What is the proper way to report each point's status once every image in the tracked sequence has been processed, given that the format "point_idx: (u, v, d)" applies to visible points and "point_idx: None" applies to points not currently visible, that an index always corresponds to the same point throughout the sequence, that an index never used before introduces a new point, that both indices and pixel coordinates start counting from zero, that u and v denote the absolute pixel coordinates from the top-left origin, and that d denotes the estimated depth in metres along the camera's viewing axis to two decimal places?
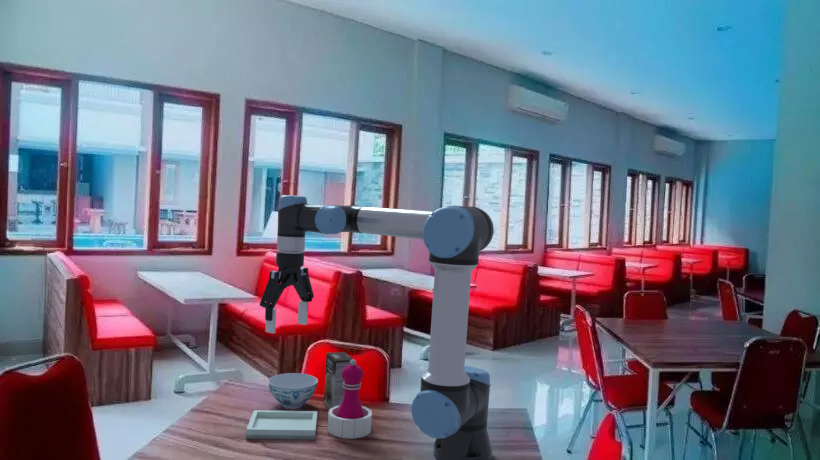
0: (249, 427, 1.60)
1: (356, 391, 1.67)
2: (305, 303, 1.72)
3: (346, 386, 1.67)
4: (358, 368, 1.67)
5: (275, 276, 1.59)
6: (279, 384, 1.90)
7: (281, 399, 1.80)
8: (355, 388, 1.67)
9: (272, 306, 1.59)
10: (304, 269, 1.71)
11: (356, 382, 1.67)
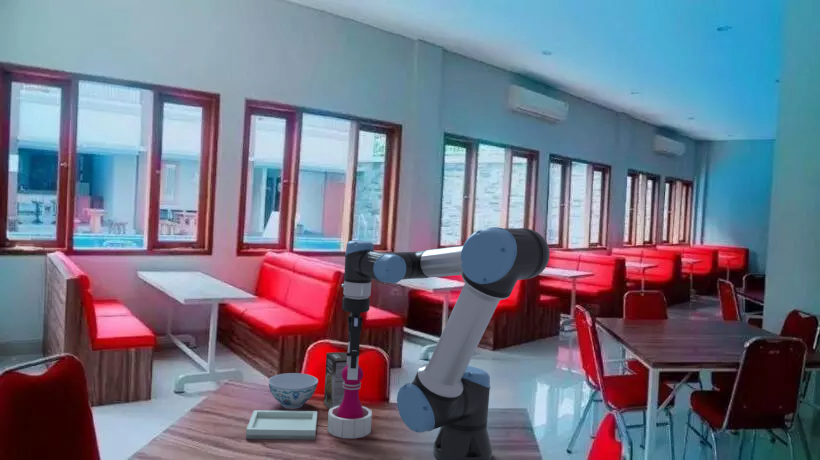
0: (249, 427, 1.60)
1: (356, 391, 1.67)
2: None
3: (346, 386, 1.67)
4: (358, 368, 1.67)
5: (359, 324, 1.61)
6: (279, 384, 1.90)
7: (281, 399, 1.80)
8: (355, 388, 1.67)
9: None
10: None
11: (356, 382, 1.67)
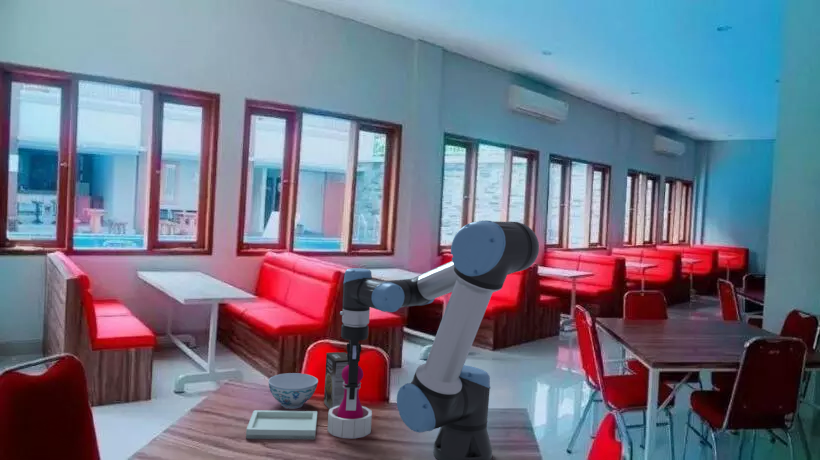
0: (249, 427, 1.60)
1: None
2: None
3: None
4: (358, 368, 1.67)
5: (357, 357, 1.62)
6: (279, 384, 1.90)
7: (281, 399, 1.80)
8: None
9: None
10: None
11: None
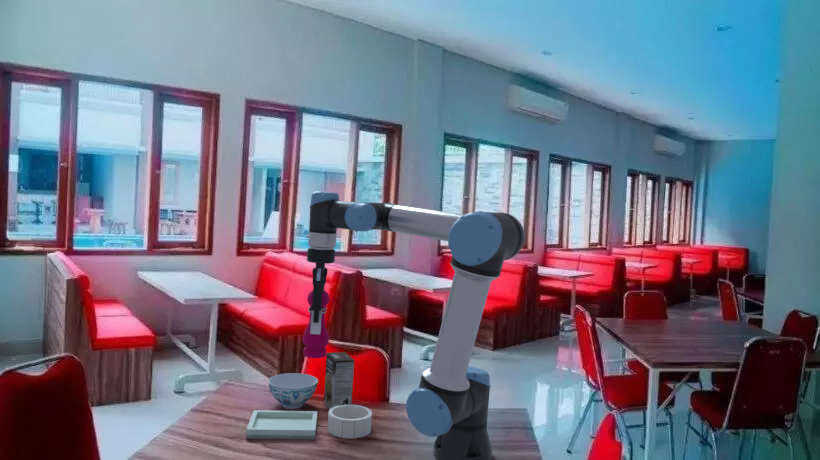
0: (249, 427, 1.60)
1: None
2: None
3: (311, 310, 1.65)
4: (324, 292, 1.65)
5: (321, 279, 1.60)
6: (279, 384, 1.90)
7: (281, 399, 1.80)
8: None
9: (321, 308, 1.62)
10: None
11: None
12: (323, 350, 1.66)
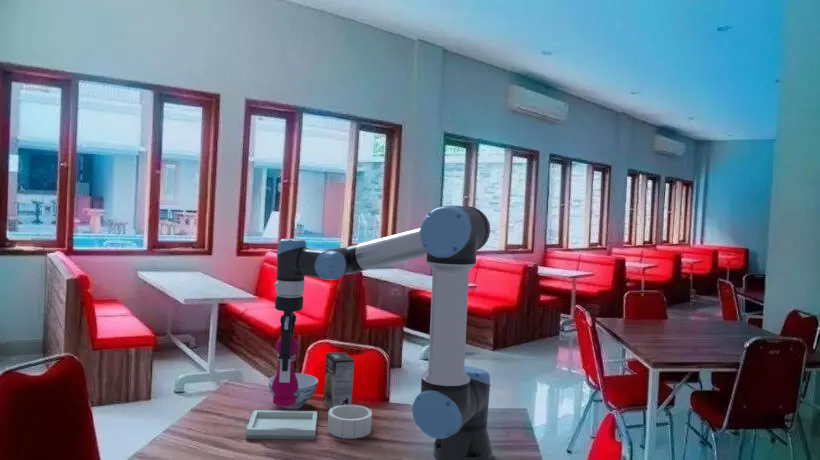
0: (249, 427, 1.60)
1: None
2: None
3: None
4: (292, 340, 1.65)
5: (289, 328, 1.59)
6: None
7: None
8: None
9: (290, 357, 1.62)
10: None
11: (290, 354, 1.64)
12: (293, 397, 1.66)
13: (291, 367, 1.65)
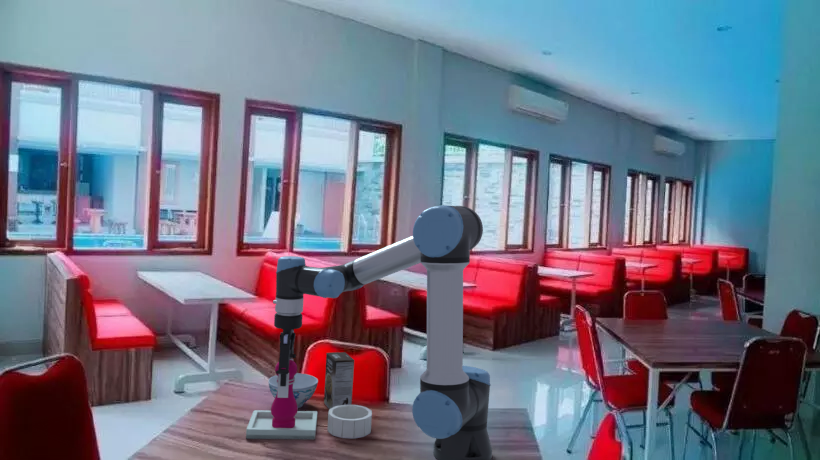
0: (249, 427, 1.60)
1: (289, 386, 1.65)
2: None
3: None
4: (291, 363, 1.65)
5: (288, 341, 1.59)
6: None
7: None
8: None
9: (288, 371, 1.58)
10: None
11: (289, 377, 1.64)
12: (292, 421, 1.66)
13: (290, 390, 1.65)
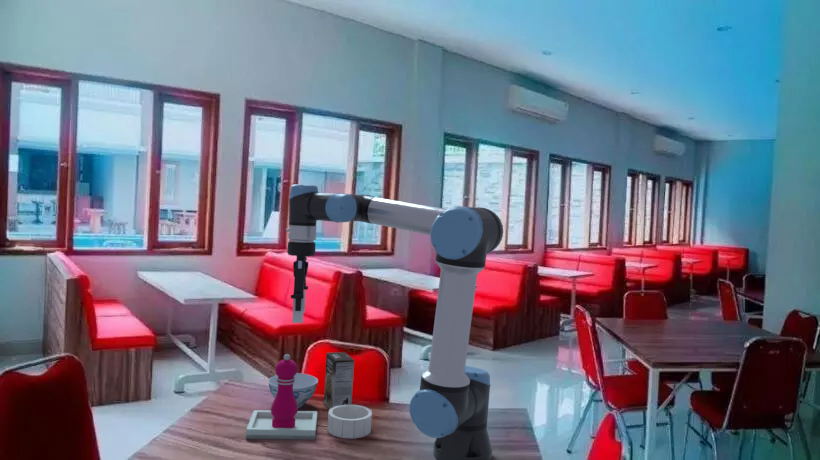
0: (249, 427, 1.60)
1: (289, 386, 1.65)
2: (304, 291, 1.73)
3: (279, 381, 1.64)
4: (291, 363, 1.65)
5: (303, 266, 1.59)
6: None
7: None
8: (288, 383, 1.64)
9: (303, 296, 1.59)
10: None
11: (289, 377, 1.64)
12: (292, 421, 1.66)
13: (290, 390, 1.65)
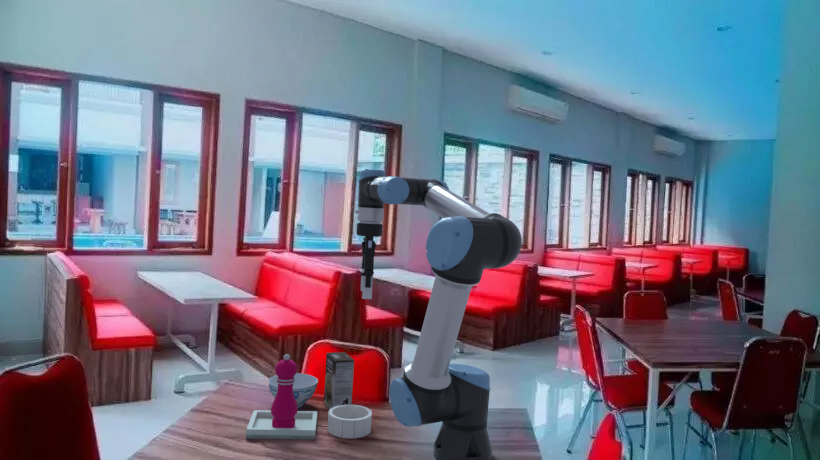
0: (249, 427, 1.60)
1: (289, 386, 1.65)
2: None
3: (279, 381, 1.64)
4: (291, 363, 1.65)
5: (373, 245, 1.69)
6: None
7: None
8: (288, 383, 1.64)
9: None
10: None
11: (289, 377, 1.64)
12: (292, 421, 1.66)
13: (290, 390, 1.65)
